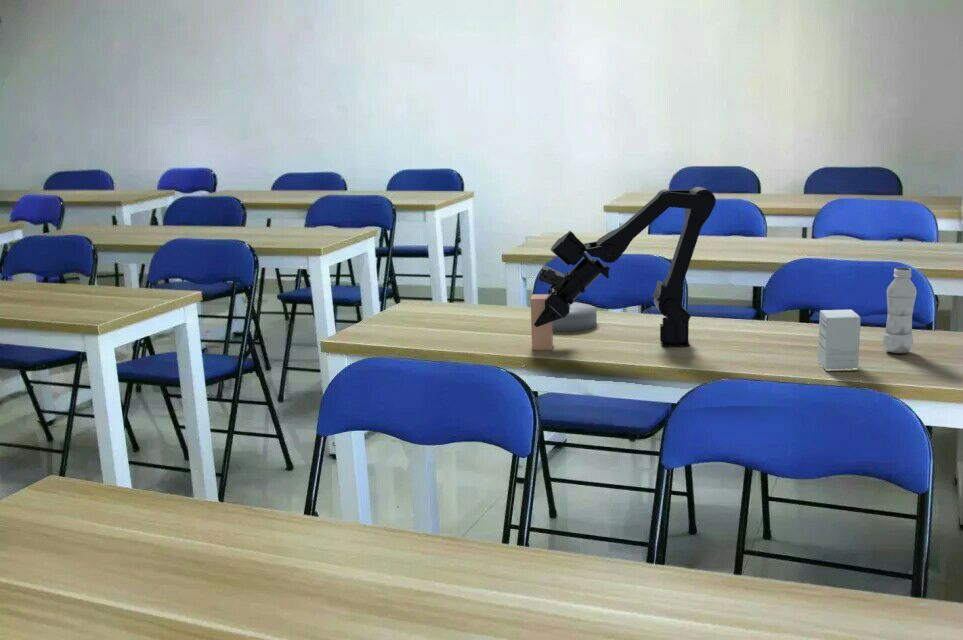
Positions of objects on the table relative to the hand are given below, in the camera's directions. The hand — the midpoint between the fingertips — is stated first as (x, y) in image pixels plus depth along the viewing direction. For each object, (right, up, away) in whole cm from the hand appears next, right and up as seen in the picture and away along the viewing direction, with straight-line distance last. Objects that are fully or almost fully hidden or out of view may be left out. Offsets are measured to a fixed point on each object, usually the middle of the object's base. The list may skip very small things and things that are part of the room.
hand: (536, 321), depth 251 cm
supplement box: (+67, -11, -24) cm, 72 cm away
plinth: (+10, -1, +23) cm, 25 cm away
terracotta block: (+2, -7, +1) cm, 7 cm away
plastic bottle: (+84, -8, -15) cm, 86 cm away
